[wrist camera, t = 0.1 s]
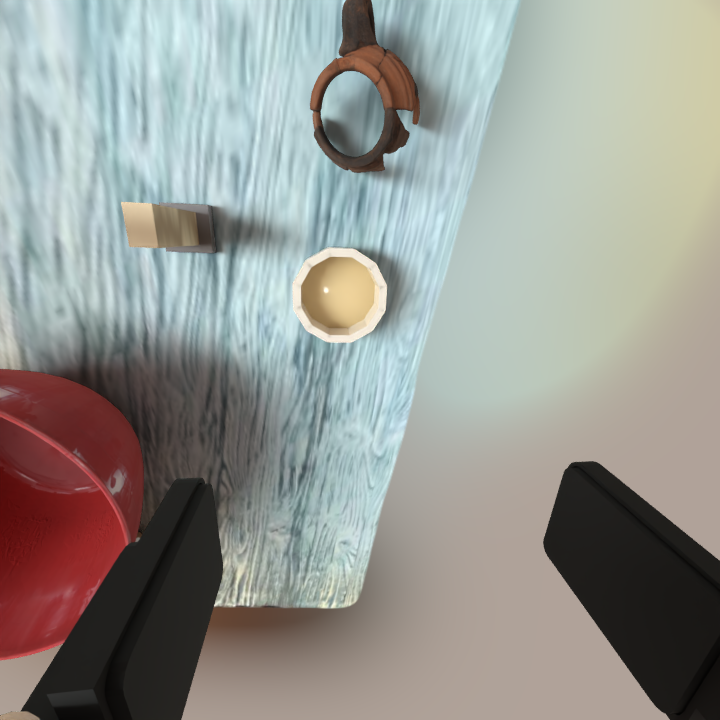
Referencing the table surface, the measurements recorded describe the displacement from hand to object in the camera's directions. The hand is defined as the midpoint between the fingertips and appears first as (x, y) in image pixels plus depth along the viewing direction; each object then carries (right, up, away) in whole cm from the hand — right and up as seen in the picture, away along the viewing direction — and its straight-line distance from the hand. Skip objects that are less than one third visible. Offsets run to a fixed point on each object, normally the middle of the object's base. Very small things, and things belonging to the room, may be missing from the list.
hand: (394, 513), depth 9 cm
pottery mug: (+1, +30, +24) cm, 38 cm away
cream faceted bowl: (-3, +12, +29) cm, 31 cm away
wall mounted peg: (-18, +17, +25) cm, 35 cm away
